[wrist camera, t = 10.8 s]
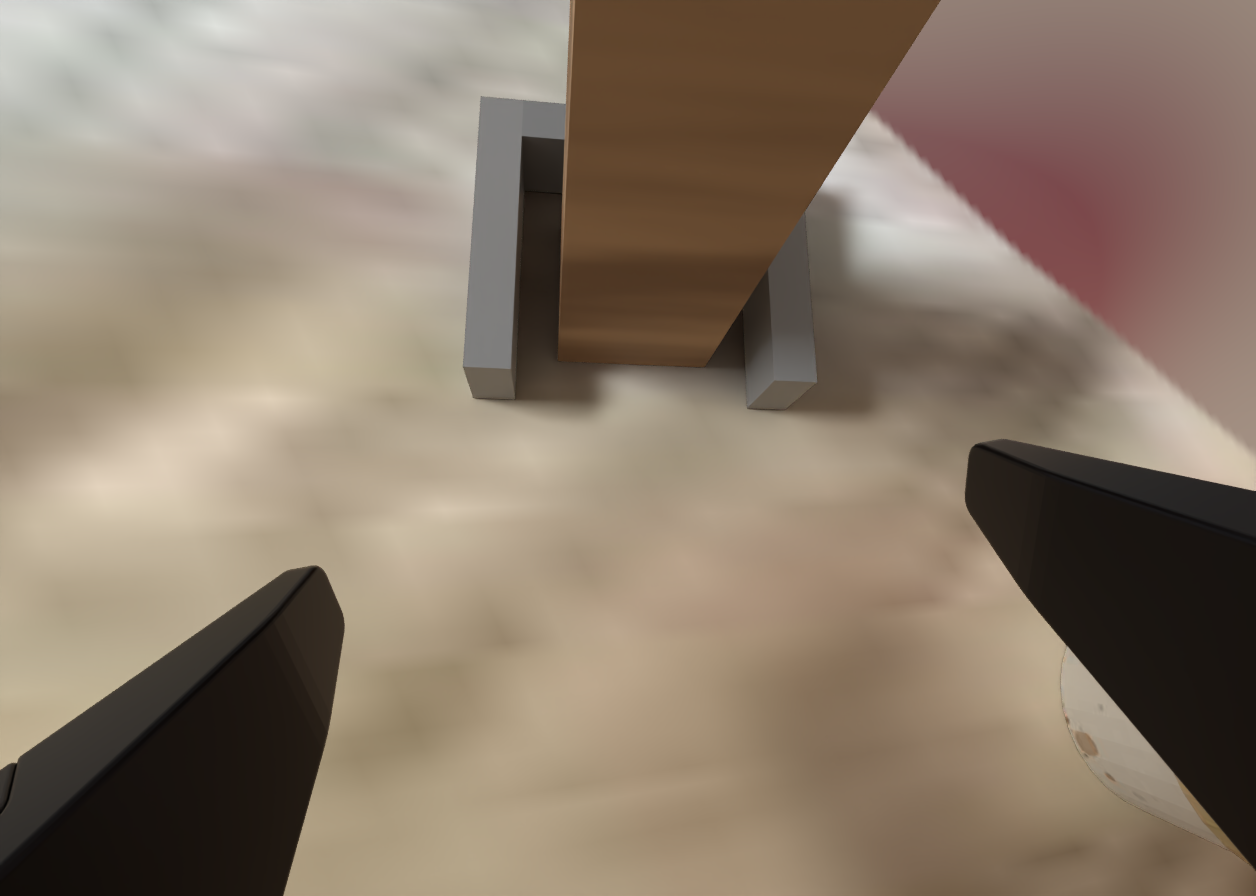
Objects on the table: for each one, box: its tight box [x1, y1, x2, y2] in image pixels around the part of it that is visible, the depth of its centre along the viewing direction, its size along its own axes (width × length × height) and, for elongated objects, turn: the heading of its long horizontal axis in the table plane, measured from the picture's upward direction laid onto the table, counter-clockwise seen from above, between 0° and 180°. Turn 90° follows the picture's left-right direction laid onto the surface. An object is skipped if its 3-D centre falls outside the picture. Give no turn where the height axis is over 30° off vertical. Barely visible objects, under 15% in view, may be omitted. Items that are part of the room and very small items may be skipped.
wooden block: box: [558, 0, 940, 367], centre depth 14 cm, size 4×4×13 cm
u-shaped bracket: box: [463, 96, 817, 410], centre depth 20 cm, size 8×9×2 cm
